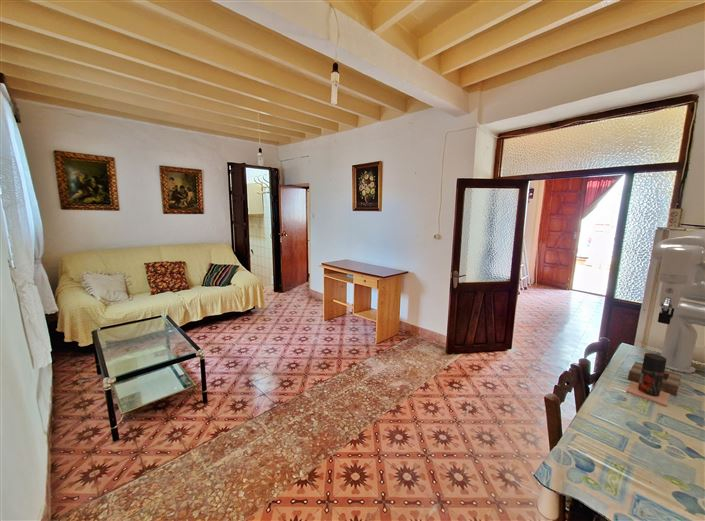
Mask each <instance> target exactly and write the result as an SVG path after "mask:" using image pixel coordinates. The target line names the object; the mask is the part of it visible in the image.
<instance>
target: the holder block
mask: <svg viewBox="0 0 705 521" xmlns="http://www.w3.org/2000/svg"><path fill="white" fill-rule="evenodd" d="M642 365H643V362H642V363H641V362H639V361H635V362H634V363H633V365H632V367H631V368H630V369H629V372H628V375H627V381H630V382H632V381H633V382H636V383H639V381H640V376H641V371H642ZM681 380H682V375H681V374H679V373H676V372H672V371H670V370H666V369H665V370H664V375H663V380H662V385H661V390H660V391H663V392H666V393H669V394H670V396H674V397H677V394H678V391H679V388H680V383H681Z"/></svg>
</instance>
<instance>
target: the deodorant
mask: <svg viewBox="0 0 705 521" xmlns="http://www.w3.org/2000/svg"><path fill="white" fill-rule="evenodd" d="M666 360H667V359H666V358H665V357H663V356H661V354H657V353H652V352H645V353H644V356H643V360H642V364H643V365H642V371H641V376H640V381H639V386H638V390H639V391H641V392H642V393H644V394H647V395H650V396H655V397H657V396H659V395H660V390H661V385H662V380H663V375H664V370H666V367H665V365H666Z"/></svg>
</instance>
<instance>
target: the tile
mask: <svg viewBox="0 0 705 521" xmlns="http://www.w3.org/2000/svg"><path fill="white" fill-rule="evenodd" d="M638 386H639V383H636V382H633V381H630V384H629V386H627V389H626V394H630V395H633V396H636V397H639V398H641V399H643V400H647V401H648V402H652V403H655V404H658V405H660V406H663V407H665V408H666V407H667V405H668V403H669V400H670V397H671V394H669V393H666V392H663V391H660V395H659V396H657V397H655V396H650V395H647V394H644V393H642V392H641V391H639V390H638Z"/></svg>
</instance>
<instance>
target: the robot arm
mask: <svg viewBox="0 0 705 521" xmlns="http://www.w3.org/2000/svg"><path fill="white" fill-rule="evenodd" d="M651 257H652V259H654V260H655V261H656V262H657V261H658V262H661V263H660V264H661V265H660V269H659V276H658V279H657V280H658V282H661V288H660V293H659V294H660V295H659V303H658V304H659V305H658V306H659V307H660V311H659V313H658V317H657V323H659V324H660V323H661V324H665V325H666V330H665V335H664V340H663V344H662V349H661V354H660V356H663V357H665V358H666V359H667V360H666V365H665V369H669V370H672V371H675V372H680V373H684V372H685V374H693V373H692V372H694V373H695V372H696V368H695V367H694V366H692V362H693V358H694V353H695V348H696V345H697V339H698V331H697V329H696V328H695V327H694V325H697V326H702V327H705V229H696V230H693V231H692V232H690V233H689V234H688V235H686V236H679V237H673V238H672V237H671V238H666V239H665V238H664V239H661V240H660V241H659V242H658V243H655V245H654V247H653V248H652V250H651ZM681 299H685V300H681ZM688 300H689V301H688ZM694 301H695V302H694Z"/></svg>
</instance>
